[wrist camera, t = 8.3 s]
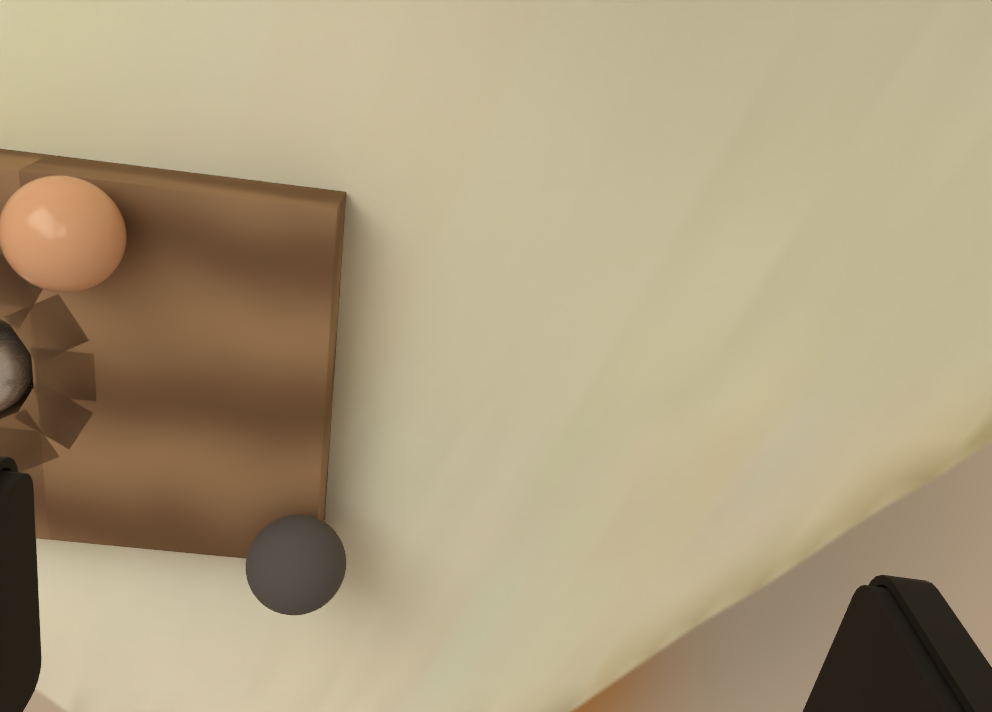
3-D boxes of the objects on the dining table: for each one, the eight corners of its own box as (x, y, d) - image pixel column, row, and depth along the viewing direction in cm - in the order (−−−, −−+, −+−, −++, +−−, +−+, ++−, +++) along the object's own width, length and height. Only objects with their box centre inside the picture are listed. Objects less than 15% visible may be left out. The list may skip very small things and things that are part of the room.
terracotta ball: (26, 157, 32) (-32, 184, 29) (141, 171, 33) (98, 200, 29) (34, 263, 34) (-19, 302, 30) (144, 276, 34) (104, 316, 31)
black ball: (259, 491, 38) (236, 549, 35) (354, 501, 39) (341, 559, 35) (256, 568, 40) (234, 631, 36) (348, 577, 40) (335, 640, 37)
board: (-162, 128, 34) (-208, 141, 32) (346, 192, 36) (337, 208, 33) (-104, 489, 41) (-139, 521, 39) (323, 531, 42) (314, 565, 40)
